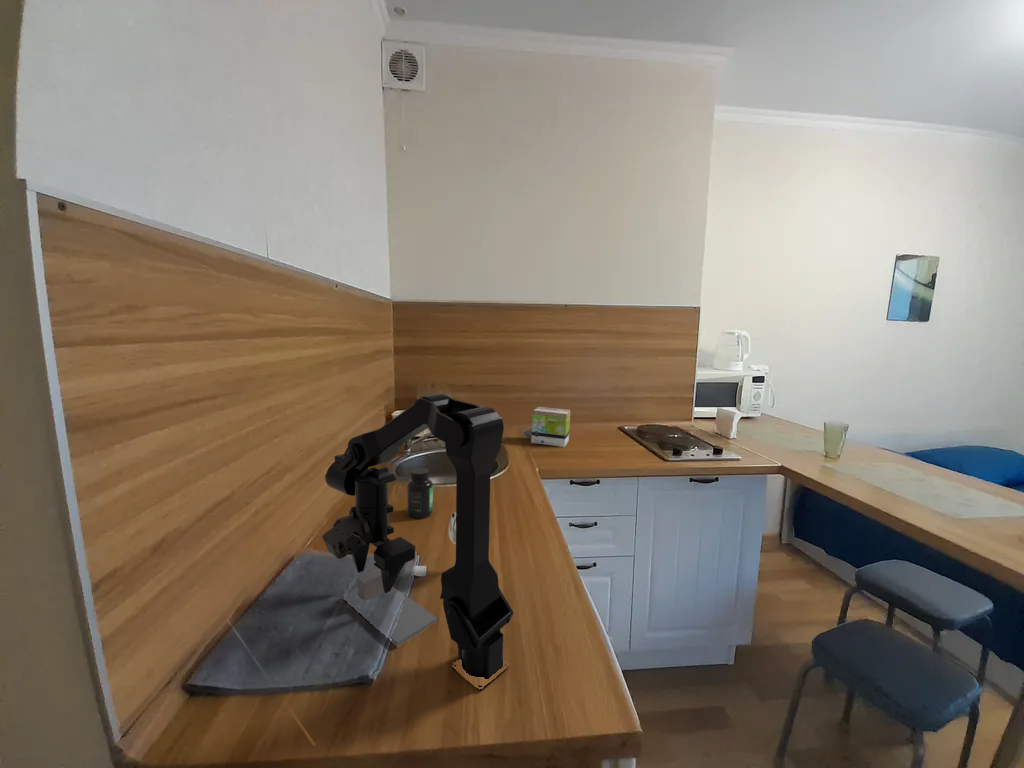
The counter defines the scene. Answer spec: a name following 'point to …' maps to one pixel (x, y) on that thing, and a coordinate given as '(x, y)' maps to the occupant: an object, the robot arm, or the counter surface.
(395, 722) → the counter surface
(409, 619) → the panel
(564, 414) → the tea box
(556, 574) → the counter surface
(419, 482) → the supplement bottle
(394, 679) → the counter surface
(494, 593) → the robot arm
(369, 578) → the stub
